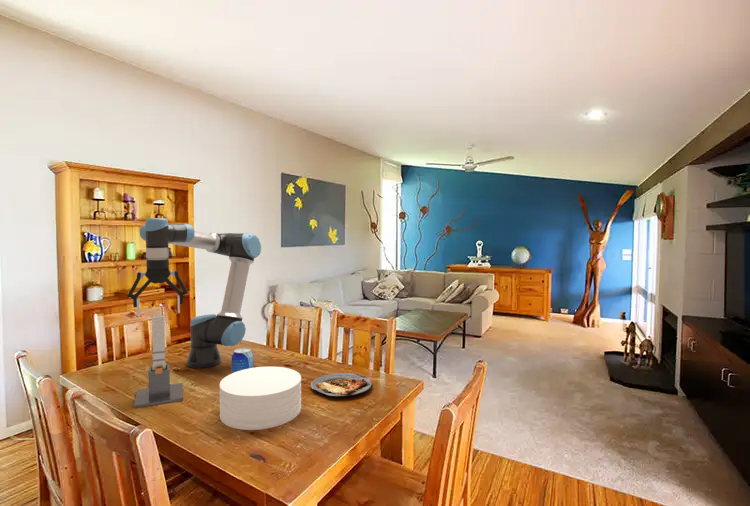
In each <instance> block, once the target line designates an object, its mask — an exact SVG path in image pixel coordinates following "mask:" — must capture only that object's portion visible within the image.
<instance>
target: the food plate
mask: <svg viewBox="0 0 750 506" xmlns="http://www.w3.org/2000/svg"><path fill="white" fill-rule="evenodd" d="M337 379H348V380H351V382H350V383H349V382H348V384H347V383H346V382H347V381H345V382H344V380H343V381H342V380H337ZM331 380H332V381H331ZM356 380H359V381H361V382H357V381H356ZM329 381H330V382H329ZM326 382H329V383H326ZM332 383H333V384H332ZM334 384H336V385H339V386H343V387H344V386H347V387H346V388H348V389H345V388H342V387H339V386H335V385H334ZM310 387H311V389H312V390H314V391H317V392H318V393H321V394H324V395H326V396H329V397H335V398H336V397H344V398H345V397H350V396H357V395H359V394H362V393H364V392H368V391H369V390H370V389H371V387H373V382H372V381H371V380H370V379H369V378H368V377H365V376H363V375H360V374H355V373H351V372H339V373H338V372H336V373H330V374H328V373H327V374H324V375H321V376H320V377H319V376H318V377H317V378H315V379H314V380H313V381H311V383H310ZM358 389H360V390H359V391H355V390H358Z"/></svg>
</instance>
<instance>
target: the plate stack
mask: <svg viewBox="0 0 750 506" xmlns="http://www.w3.org/2000/svg"><path fill="white" fill-rule="evenodd" d="M301 410H302V375H301V374H300V373H299V372H298V371H296V370H294V369H292V368H289V367H283V366H256V367H253V368H249V369H244V370H241V371H237V372H234V373H232V372H231V373H230V374H228V375H227V376H225V377H223V378H222V379H221V380H220V382H219V419H220V421H221V423H223V424H224V425H225V426H227V427H230V428H233V429H237V430H241V431H242V430H243V431H244V430H245V431H246V430H247V431H258V430H266V429H271V428H276V427H279V426H281V425H284V424H287V423H289V422H290V421H292V420H294V419H295V418H297V416H298V415H300V413H301Z"/></svg>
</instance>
